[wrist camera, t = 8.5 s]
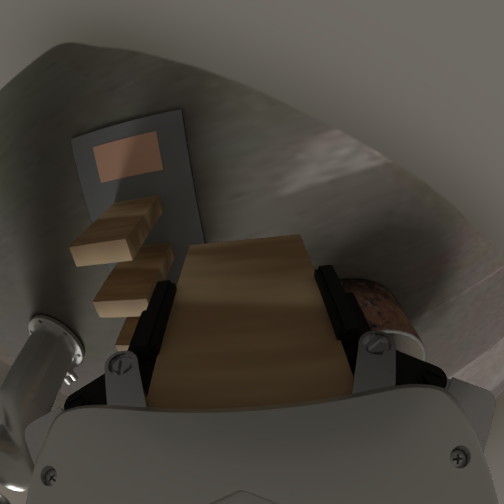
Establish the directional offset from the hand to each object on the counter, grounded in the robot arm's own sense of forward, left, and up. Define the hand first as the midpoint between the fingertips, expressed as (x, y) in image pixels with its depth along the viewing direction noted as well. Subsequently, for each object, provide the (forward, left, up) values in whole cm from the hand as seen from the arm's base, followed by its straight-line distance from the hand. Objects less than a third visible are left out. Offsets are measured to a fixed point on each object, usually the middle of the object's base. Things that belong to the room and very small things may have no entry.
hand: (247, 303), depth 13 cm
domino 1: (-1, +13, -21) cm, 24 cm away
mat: (-4, +13, -21) cm, 25 cm away
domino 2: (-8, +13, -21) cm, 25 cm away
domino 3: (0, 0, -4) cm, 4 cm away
